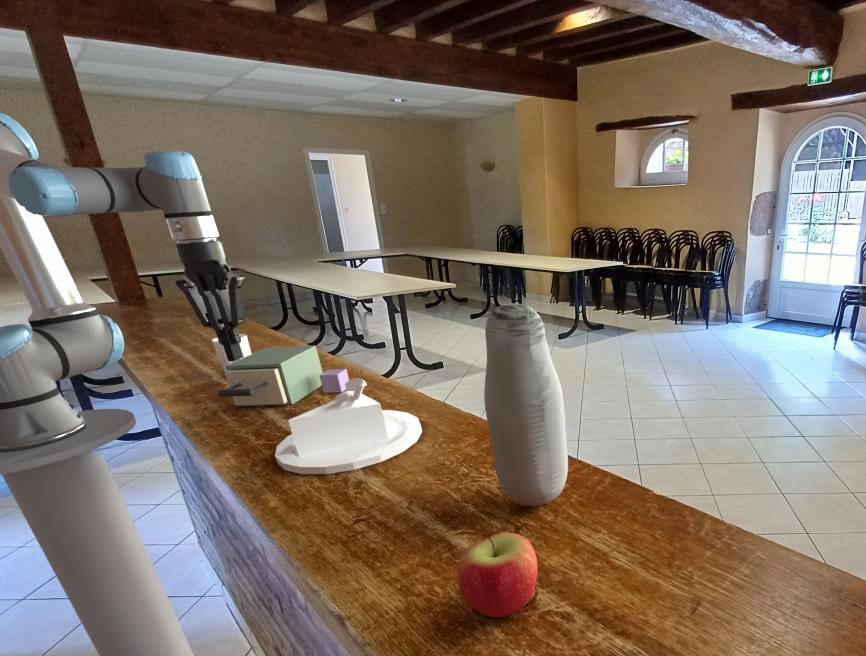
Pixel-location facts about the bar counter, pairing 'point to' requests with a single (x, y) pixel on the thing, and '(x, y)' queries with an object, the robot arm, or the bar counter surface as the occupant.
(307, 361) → the cabinet
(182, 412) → the bar counter surface
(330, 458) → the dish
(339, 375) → the purple cube
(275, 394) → the drawer
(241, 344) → the white cup
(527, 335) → the grey rounded column
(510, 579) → the apple
